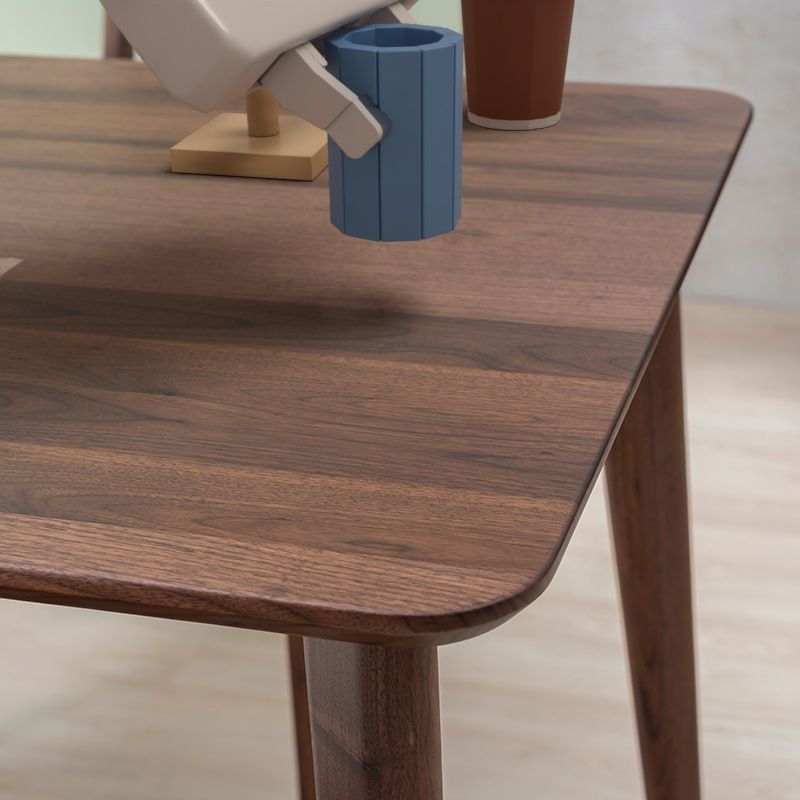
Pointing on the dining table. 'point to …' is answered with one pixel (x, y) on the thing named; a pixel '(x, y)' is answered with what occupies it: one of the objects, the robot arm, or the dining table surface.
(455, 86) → the blue faceted pencil cup
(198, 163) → the tape stand
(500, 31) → the coffee cup
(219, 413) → the dining table surface
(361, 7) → the robot arm
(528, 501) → the dining table surface
